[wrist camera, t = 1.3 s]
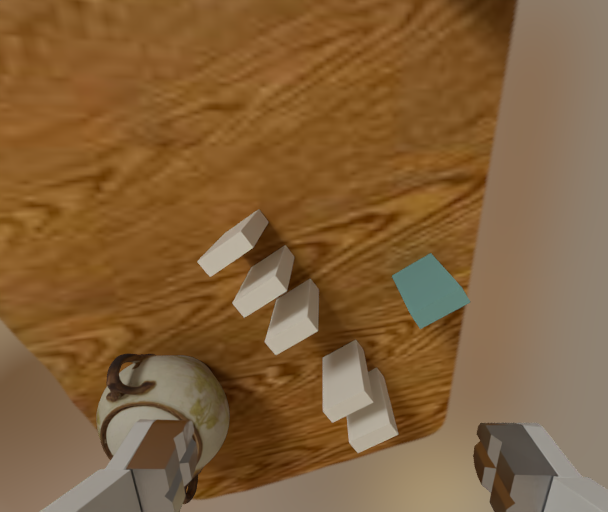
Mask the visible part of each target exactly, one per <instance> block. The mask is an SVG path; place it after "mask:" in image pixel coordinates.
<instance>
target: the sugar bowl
mask: <svg viewBox="0 0 608 512" xmlns="http://www.w3.org/2000/svg"><path fill="white" fill-rule="evenodd" d="M125 362H134V364H132V365H130V366H128V367H127V368H125V369H124V370H122V371H121V372H120V373H119V370H120V367H121V365H122V364H123V363H125ZM229 418H230V415H229V405H228V401H227V398H226V395H225V393H224V390H223V389H222V387H221V385H220V383H219V382H218V380H217V379H216V377H215V376H214V375H213V373H212V372H211V370H210V369H209V368H208V367H207V366H206V365H205V364H204V363H202V362H201V361H199V360H197V359H195V358H193V357H189V356H182V355H181V356H157V355H154V354H145V355H143V354H142V355H137V354H123V355H120V356H118V357H117V358H116V359H115V360H114V361H113V362H112V364H111V365H110V367H109V370H108V374H107V388H106V389H105V391H104V393H103V395H102V397H101V399H100V402H99V405H98V410H97V418H96V419H97V429H98V434H99V437H100V440H101V444H102V446H103V449H104V451H105V453H106V455H107V456H108V458H109V459H110V460H111V459H112V458H113V456H114V455H115V453H116V452H117V450H118V448H119V447H120V445H121V444H122V442H123V441H124V439H125V438H126V436H127V435H128V433H129V432H130V430H131V429H132V427H133V425H134V424H135V423H136V422H137V421H138V420H140V419H148V420H157V419H159V420H186V421H192V422H193V427H194V433H193V435H192V439H193V440H194V441H195V442H196V444H197V463H196V468H195V472H194V475H193V477H192V480H191V481H190V482H189V483H188V484H189V485H188V484H187V485H185V486H184V489H185V495H186V496H185V499H184V502H183V504H186V503H188V502H190V500H191V499H192V498H193V496H194V495H195V492H196V489H197V482H198V474H199V473H200V472H201V470H202V469H203V467H204V466H205V465H206V464H207V463H208V462H209V461H210V460H211V459H212V458H213V457H214V456H215V455H216V453H217V452H218V451H219V449H220V448H221V446H222V444H223V442H224V440H225V438H226V435H227V431H228V428H229ZM187 486H188V490H187V493H186V489H187Z"/></svg>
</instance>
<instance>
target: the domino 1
mask: <svg viewBox="0 0 608 512" xmlns="http://www.w3.org/2000/svg"><path fill="white" fill-rule="evenodd" d="M267 224H268V221H267V219H266V218H265V217H264V215H263V214H262V213H261V211H260V210H259V209H258V210H257V211H255V212H254V213H253V214H251V215H250V216H248V217H247V218H246V219H244V220H243V221H241V222H240V223H238V224H237V225H236V226H234V227H233V228H231V229H230V230H229V231H227V232H226V233H224V234H223V235H222V236H221V237H220V239H219V240H218V241H217V242H216V243H215V244H214V245H213V246H212V247H211V248H210V249H209V250H208V251H207V252H206V253H205V254H204V255H203V256H202V257H201V258H200V259H199V260H198V261H197V262H198V263H199V264H200V266H201V267H202V268H203V269H204V270H205V272H206V273H207V274H208V275H209V276H210V277H211V276H212V275H214V274H215V273H217V272H218V271H220V270H221V269H223V268H224V267H226V266H227V265H229V264H230V263H231V262H233V261H234V260H236V259H237V258H239V257H240V256H242V255H243V254H245V253H246V252H248V251H249V250H251V249H252V248H254V246H255V244H256V242H257V241H258V239H259V237H260V236H261V234H262V232H263V231H264V229H265V227H266V226H267Z"/></svg>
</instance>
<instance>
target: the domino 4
mask: <svg viewBox="0 0 608 512" xmlns="http://www.w3.org/2000/svg"><path fill="white" fill-rule="evenodd" d="M371 403H373V396H372V391H371V386H370V381H369V375H368V370H367V365H366V360H365V355H364V350H363V348H362V347H361V346H360V344H359V343H358V342H357V340H354V341H352V342H350V343H349V344H347V345H345V346H343V347H341V348H339V349H338V350H336V351H334V352H332V353H330V354H329V355H327V356H325V357H323V412H324V413H325V414H326V416H327V417H328V418H329V419H330V420H331V422H332V423H333V422H335V421H337V420H339V419H341V418H343V417H345V416H347V415H349V414H351V413H353V412H355V411H357V410H359V409H361V408H363V407H365V406H367V405H369V404H371Z"/></svg>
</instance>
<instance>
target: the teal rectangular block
mask: <svg viewBox="0 0 608 512" xmlns="http://www.w3.org/2000/svg"><path fill="white" fill-rule="evenodd" d="M392 278H393V280H394V282H395V284H396V286H397V288H398V290H399V292H400V294H401V296H402V298H403V300H404V302H405V304H406V306H407V308H408V310H409V312H410V314H411V316H412V317H413V319H414V320H415V322H416V323H417V325H418V326H419V328H420V329H421V328H423V327H425V326H427V325H429V324H431V323H433V322H434V321H436V320H438V319H440V318H442V317H444V316H446V315H448V314H449V313H451V312H453V311H455V310H457V309H459V308H461V307H463V306H464V305H466V304H468V303H470V300H469V299H468V297H467V295H466V294H465V292H464V290H463V289H462V287H461V286H460V285H459V284H458V283H457V282H456V280H455V279H454V278H453V277H452V276H451V275H450V274H449V273H448V272H447V271H446V269H445V268H444V267H443V266H442V265H441V264H440V263H439V262H438V261H437V259H436V258H435V257H434V256H433V255H432V254H431V253H430V254H428V255H427V256H425V257H423V258H422V259H420V260H418V261H416V262H415V263H413V264H411V265H410V266H408V267H406V268H404V269H403V270H401V271H399V272H398V273H396V274H394V275H392Z"/></svg>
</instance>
